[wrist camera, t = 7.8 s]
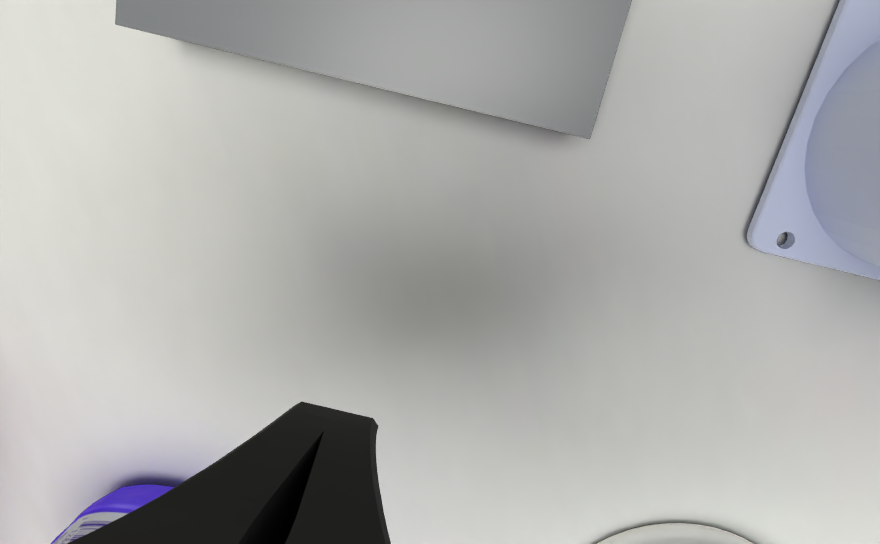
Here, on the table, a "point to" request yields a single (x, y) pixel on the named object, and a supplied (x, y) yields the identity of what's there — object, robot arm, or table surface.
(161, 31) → the console
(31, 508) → the table surface
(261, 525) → the robot arm
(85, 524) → the bottle
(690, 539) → the white ridged round container
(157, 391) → the table surface
